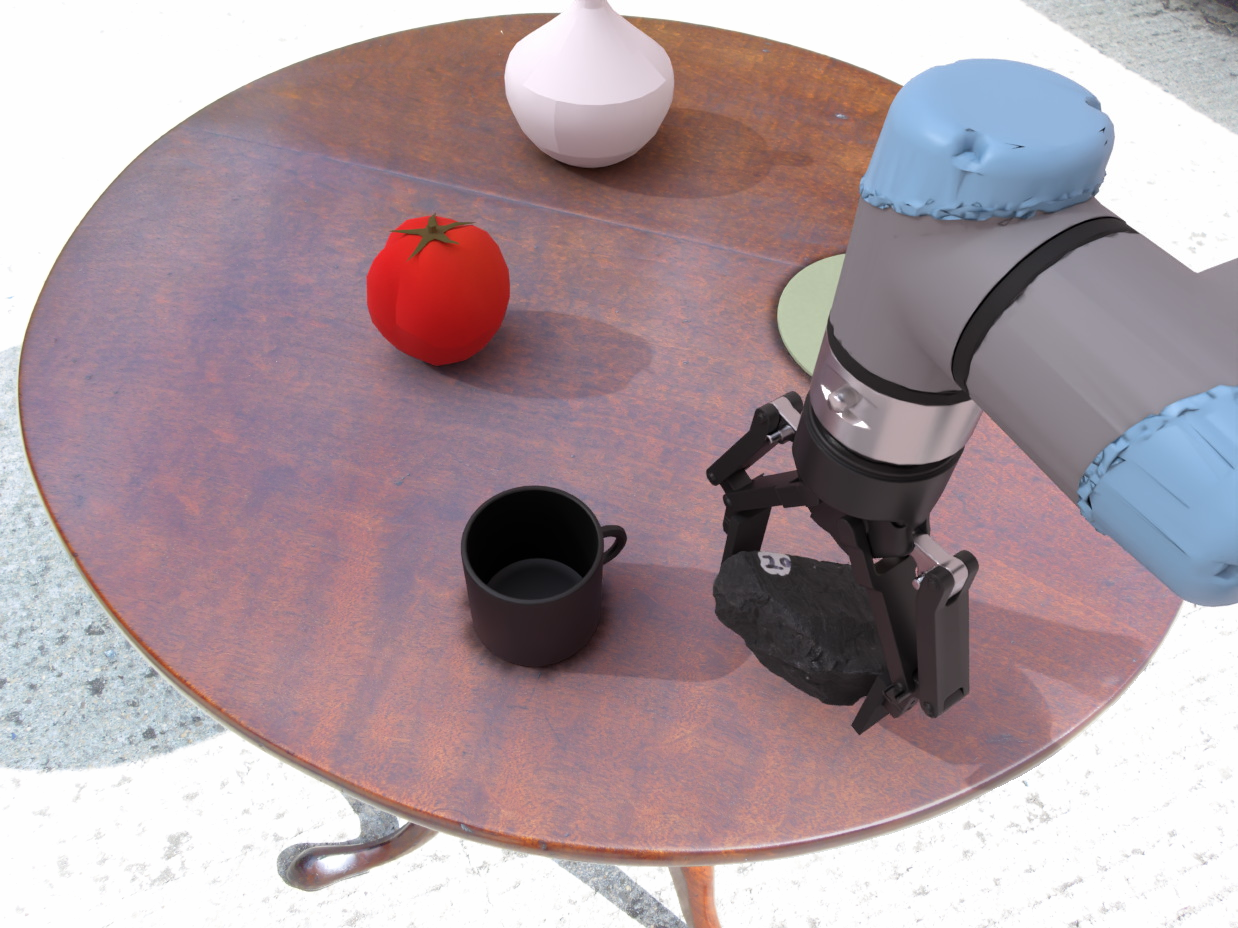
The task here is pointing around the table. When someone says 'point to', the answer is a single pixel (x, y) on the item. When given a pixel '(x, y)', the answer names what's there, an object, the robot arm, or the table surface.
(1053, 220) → the robot arm
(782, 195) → the table surface
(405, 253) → the tomato
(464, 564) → the mug
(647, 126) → the vase
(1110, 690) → the table surface
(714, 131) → the table surface
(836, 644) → the rock
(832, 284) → the mat
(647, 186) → the table surface
